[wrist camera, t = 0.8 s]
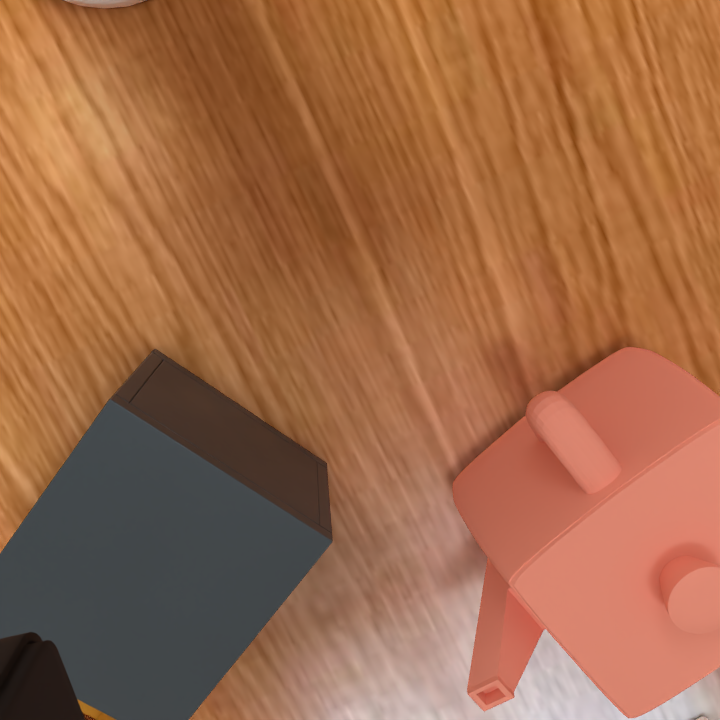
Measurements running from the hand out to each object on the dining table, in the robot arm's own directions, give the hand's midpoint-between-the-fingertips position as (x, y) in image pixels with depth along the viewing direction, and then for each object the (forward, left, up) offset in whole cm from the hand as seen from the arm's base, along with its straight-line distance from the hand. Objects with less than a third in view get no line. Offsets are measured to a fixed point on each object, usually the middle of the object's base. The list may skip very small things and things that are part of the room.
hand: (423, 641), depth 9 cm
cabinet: (0, -17, -32) cm, 36 cm away
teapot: (+20, -3, -32) cm, 38 cm away
